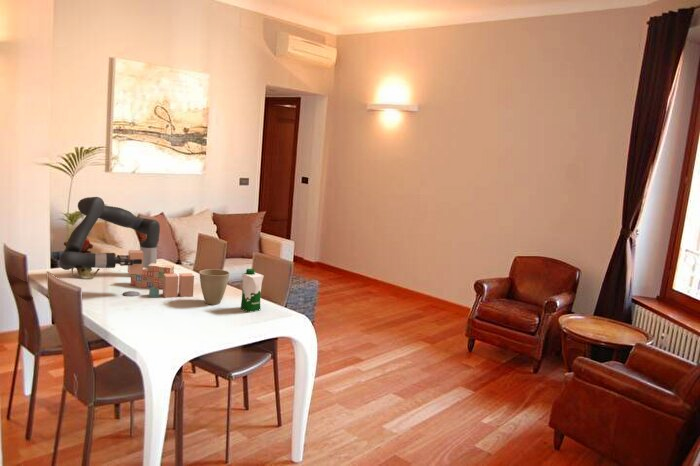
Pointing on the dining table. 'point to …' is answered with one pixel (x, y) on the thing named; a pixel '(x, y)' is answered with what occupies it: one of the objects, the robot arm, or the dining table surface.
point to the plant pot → (213, 284)
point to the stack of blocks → (152, 276)
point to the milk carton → (251, 290)
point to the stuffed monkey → (79, 268)
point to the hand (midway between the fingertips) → (140, 260)
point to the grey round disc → (131, 293)
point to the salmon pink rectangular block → (135, 267)
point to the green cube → (153, 292)
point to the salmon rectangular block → (170, 285)
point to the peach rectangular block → (186, 284)
